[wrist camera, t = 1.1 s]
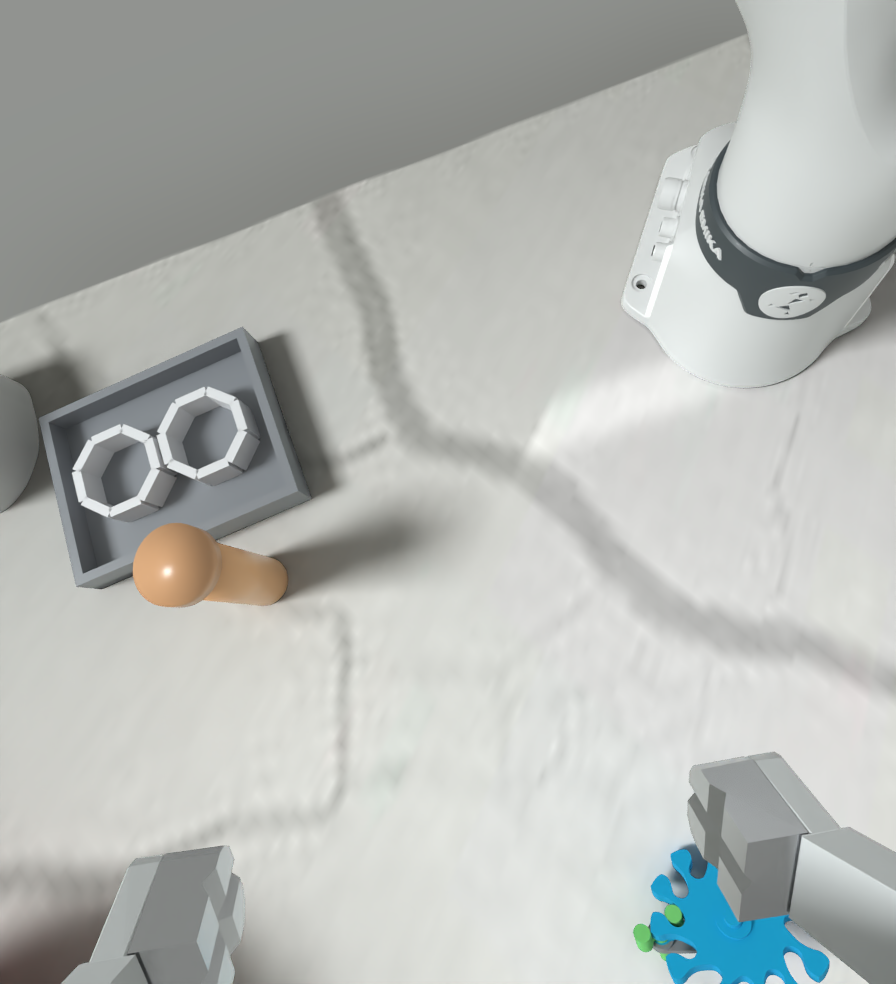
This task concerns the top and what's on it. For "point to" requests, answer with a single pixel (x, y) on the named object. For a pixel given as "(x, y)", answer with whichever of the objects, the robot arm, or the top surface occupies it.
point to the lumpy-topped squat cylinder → (16, 440)
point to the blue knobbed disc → (719, 934)
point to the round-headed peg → (203, 570)
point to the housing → (171, 456)
